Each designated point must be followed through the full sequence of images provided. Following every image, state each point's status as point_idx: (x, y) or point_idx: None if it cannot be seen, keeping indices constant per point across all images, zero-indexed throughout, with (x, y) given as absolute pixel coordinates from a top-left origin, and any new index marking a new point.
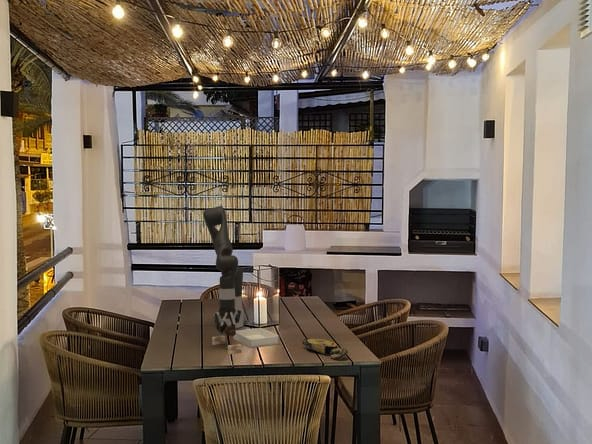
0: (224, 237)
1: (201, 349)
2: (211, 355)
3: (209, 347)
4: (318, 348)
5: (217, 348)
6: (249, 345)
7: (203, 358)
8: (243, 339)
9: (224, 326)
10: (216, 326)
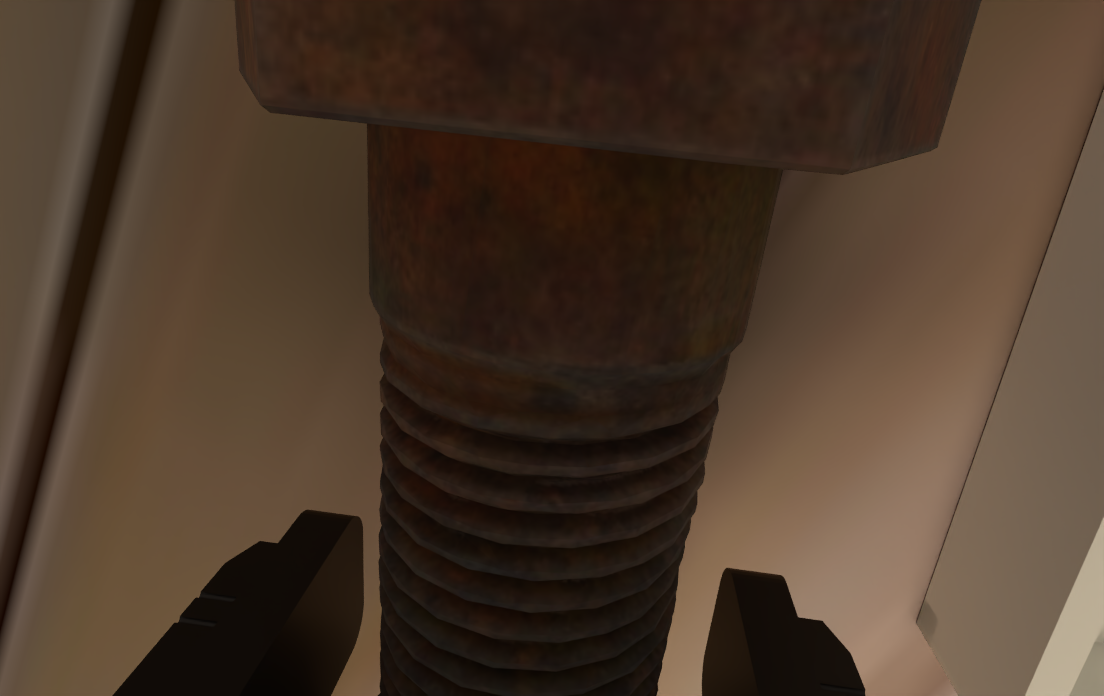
0: None
1: (86, 193)
2: (148, 609)
3: (279, 140)
4: None
5: None
6: (947, 611)
7: (4, 663)
8: (1089, 375)
9: (416, 687)
10: (241, 66)
